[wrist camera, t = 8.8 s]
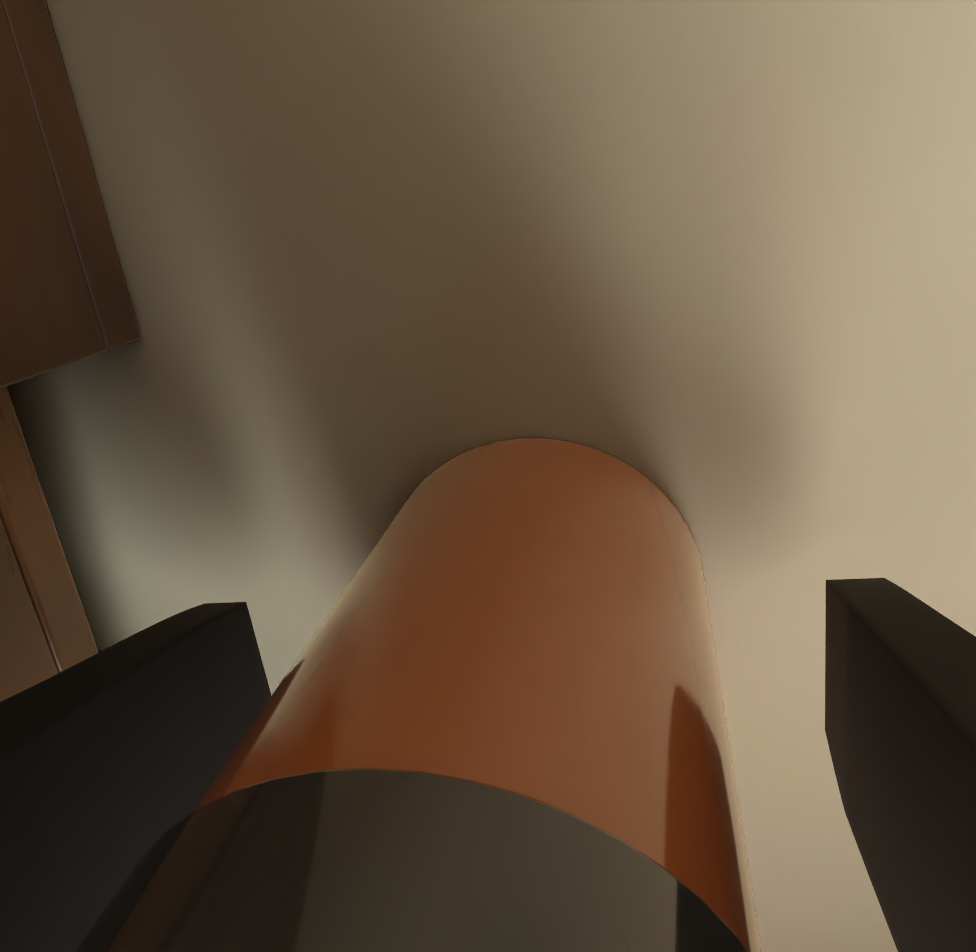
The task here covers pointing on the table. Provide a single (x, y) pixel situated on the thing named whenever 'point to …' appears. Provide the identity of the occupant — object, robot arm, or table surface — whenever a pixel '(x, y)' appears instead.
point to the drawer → (33, 575)
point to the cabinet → (50, 214)
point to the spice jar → (479, 744)
